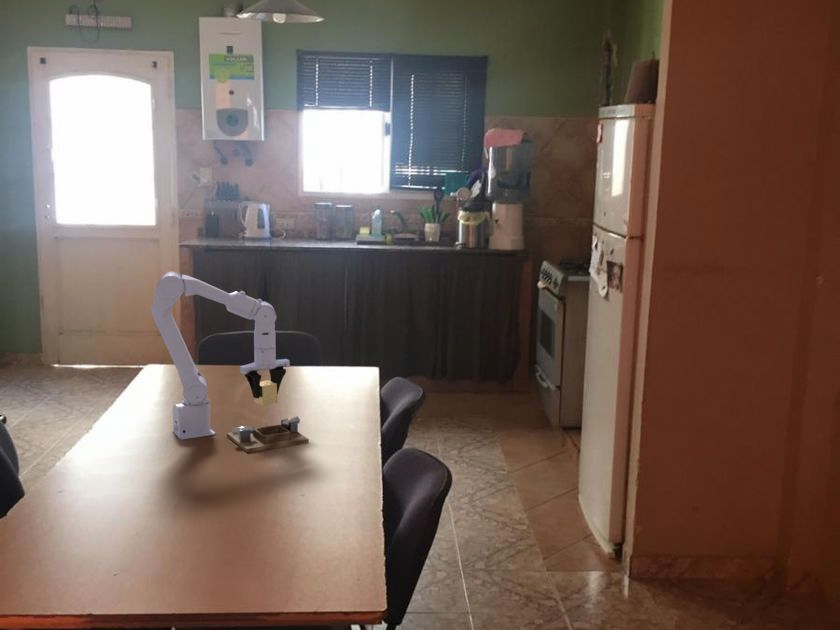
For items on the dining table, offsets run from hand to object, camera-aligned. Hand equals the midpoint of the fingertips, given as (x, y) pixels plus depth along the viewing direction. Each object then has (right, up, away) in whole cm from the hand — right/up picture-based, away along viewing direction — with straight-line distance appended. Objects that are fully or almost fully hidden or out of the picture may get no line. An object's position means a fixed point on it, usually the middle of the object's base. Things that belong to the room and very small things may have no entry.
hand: (265, 395), depth 238 cm
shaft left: (-4, -10, -12) cm, 16 cm away
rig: (+2, -11, -7) cm, 13 cm away
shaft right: (+7, -9, -3) cm, 12 cm away
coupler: (0, -2, 0) cm, 2 cm away
